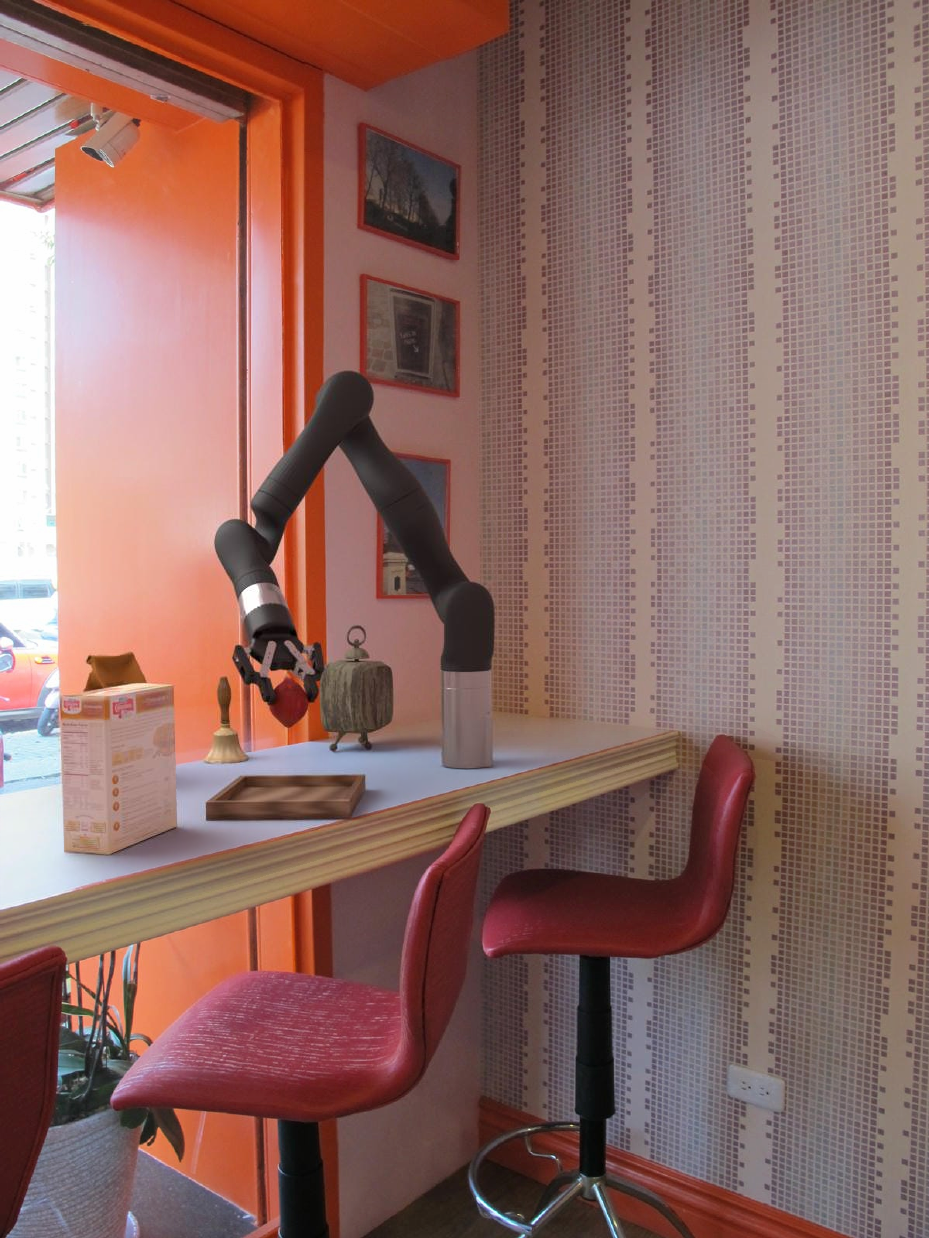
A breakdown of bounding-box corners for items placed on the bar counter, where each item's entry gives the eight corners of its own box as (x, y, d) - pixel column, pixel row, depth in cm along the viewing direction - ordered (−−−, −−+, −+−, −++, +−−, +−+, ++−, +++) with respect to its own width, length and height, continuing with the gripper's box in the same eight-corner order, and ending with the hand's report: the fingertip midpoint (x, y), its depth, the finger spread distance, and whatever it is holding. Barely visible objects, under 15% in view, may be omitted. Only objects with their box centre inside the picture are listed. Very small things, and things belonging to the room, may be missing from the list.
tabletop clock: (359, 742, 207) (357, 624, 206) (396, 744, 203) (395, 624, 202) (320, 752, 194) (318, 626, 193) (359, 755, 190) (357, 626, 189)
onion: (315, 725, 148) (315, 673, 148) (296, 731, 143) (296, 676, 142) (281, 724, 150) (281, 672, 150) (261, 729, 145) (261, 675, 144)
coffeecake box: (134, 824, 135) (131, 682, 134) (179, 827, 133) (176, 683, 132) (60, 851, 121) (56, 693, 120) (109, 855, 118) (106, 694, 118)
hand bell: (237, 764, 182) (235, 678, 181) (195, 763, 183) (194, 678, 183) (255, 757, 190) (254, 674, 189) (215, 756, 192) (214, 674, 191)
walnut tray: (365, 789, 156) (365, 774, 156) (349, 818, 136) (349, 800, 136) (240, 791, 157) (240, 775, 156) (206, 820, 137) (205, 802, 136)
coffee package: (62, 789, 160) (59, 655, 159) (116, 776, 171) (113, 650, 171) (110, 793, 156) (107, 655, 156) (162, 779, 168) (159, 651, 167)
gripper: (225, 602, 149) (250, 686, 139) (315, 600, 156) (345, 681, 146) (216, 635, 153) (240, 720, 143) (304, 633, 161) (332, 713, 150)
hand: (292, 700), depth 145 cm, fingers closed on onion, 5 cm apart
